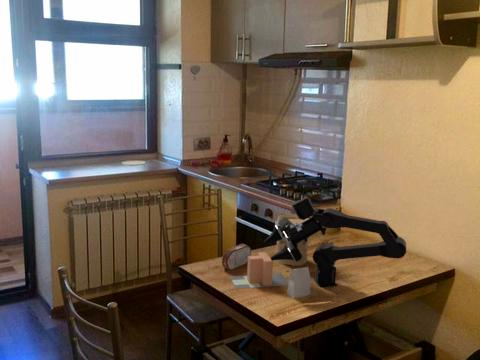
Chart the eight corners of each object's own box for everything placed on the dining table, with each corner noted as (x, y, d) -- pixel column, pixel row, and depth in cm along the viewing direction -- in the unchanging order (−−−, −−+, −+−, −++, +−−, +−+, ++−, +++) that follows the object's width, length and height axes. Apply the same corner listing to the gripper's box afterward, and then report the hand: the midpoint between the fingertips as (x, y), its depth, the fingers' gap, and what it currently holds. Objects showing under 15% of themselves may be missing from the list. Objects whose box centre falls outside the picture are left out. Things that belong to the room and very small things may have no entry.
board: (280, 274, 193) (281, 273, 193) (290, 286, 183) (290, 284, 183) (229, 278, 188) (229, 276, 188) (236, 290, 178) (236, 288, 178)
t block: (264, 275, 190) (265, 252, 189) (271, 285, 182) (273, 261, 180) (245, 276, 189) (245, 253, 187) (251, 286, 180) (252, 262, 178)
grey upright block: (309, 296, 175) (311, 268, 173) (293, 300, 172) (294, 271, 170) (303, 292, 178) (305, 265, 176) (287, 295, 175) (288, 268, 173)
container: (308, 267, 201) (310, 223, 197) (276, 266, 201) (278, 222, 197) (305, 256, 213) (307, 214, 209) (275, 255, 213) (276, 213, 210)
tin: (245, 260, 206) (246, 240, 205) (252, 262, 204) (252, 242, 203) (221, 271, 195) (221, 250, 193) (227, 273, 193) (227, 252, 191)
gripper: (288, 200, 188) (250, 221, 188) (306, 229, 172) (265, 252, 172) (299, 221, 194) (263, 241, 194) (317, 251, 178) (278, 273, 178)
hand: (267, 251), depth 184 cm, fingers open, 9 cm apart
